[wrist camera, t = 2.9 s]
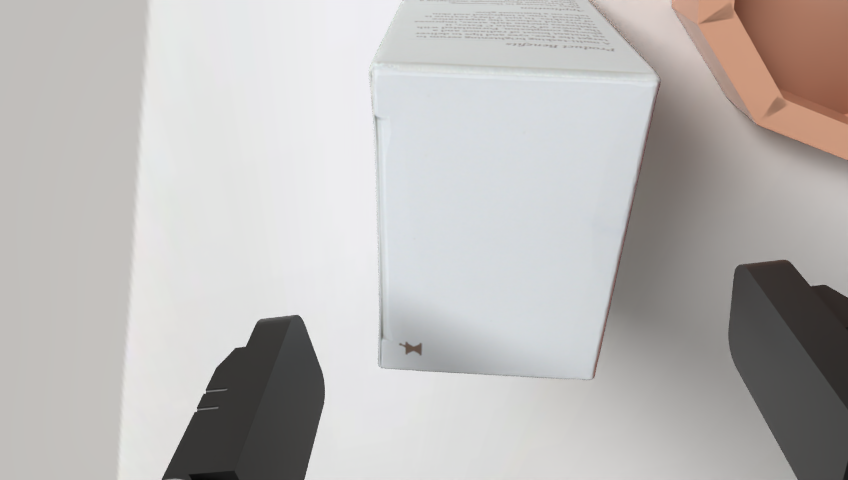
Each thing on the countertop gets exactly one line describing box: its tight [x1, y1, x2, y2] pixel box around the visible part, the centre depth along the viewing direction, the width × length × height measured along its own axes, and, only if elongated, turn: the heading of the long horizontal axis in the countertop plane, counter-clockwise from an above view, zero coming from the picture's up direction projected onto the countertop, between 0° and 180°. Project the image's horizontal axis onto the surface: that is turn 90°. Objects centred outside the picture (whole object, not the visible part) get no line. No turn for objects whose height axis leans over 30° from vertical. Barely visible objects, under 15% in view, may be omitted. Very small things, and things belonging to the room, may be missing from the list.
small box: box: [369, 0, 661, 380], centre depth 18 cm, size 8×6×10 cm
